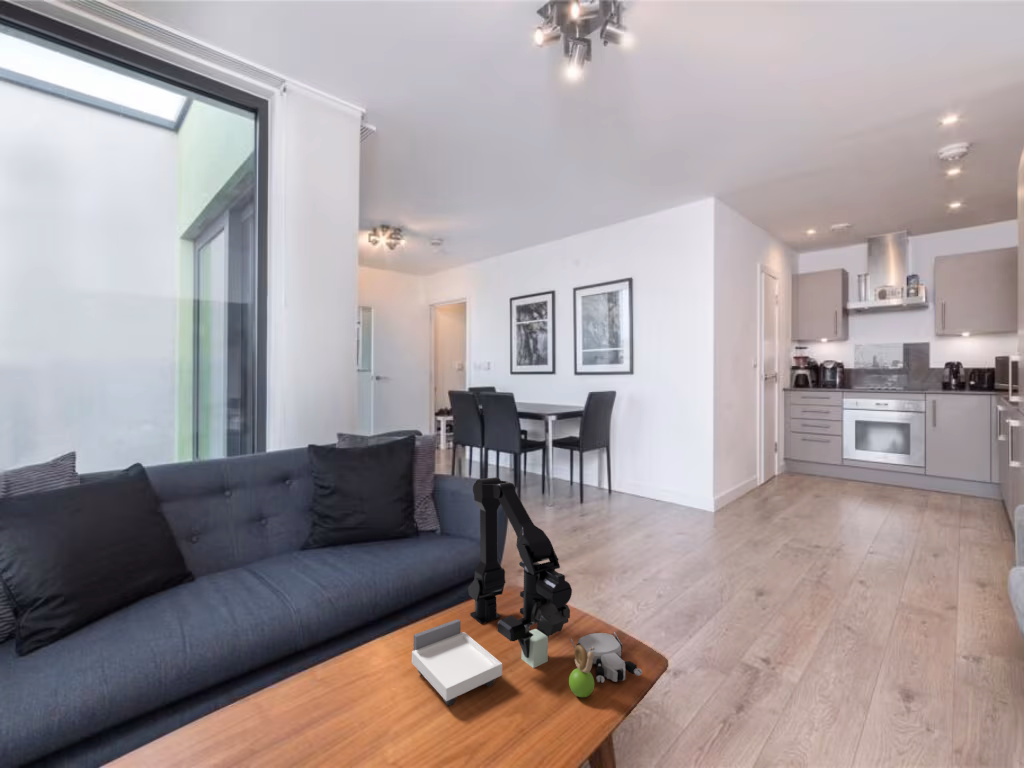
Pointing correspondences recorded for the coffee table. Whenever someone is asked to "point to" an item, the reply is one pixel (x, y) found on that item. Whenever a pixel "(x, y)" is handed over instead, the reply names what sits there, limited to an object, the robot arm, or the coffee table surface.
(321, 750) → the coffee table surface
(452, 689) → the tray
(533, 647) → the part block
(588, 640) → the robot toy
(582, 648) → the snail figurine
